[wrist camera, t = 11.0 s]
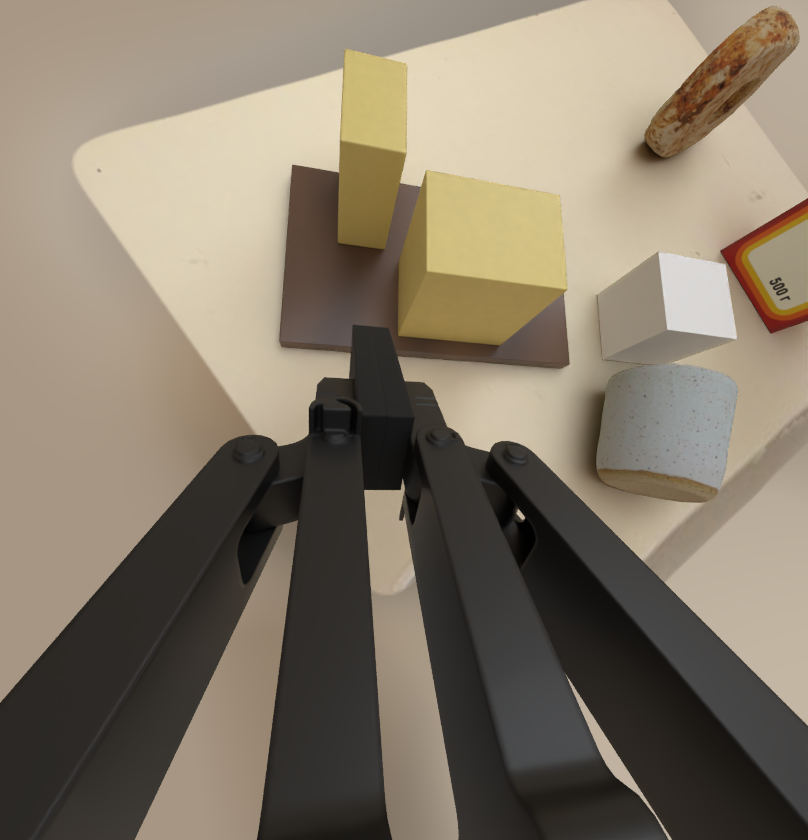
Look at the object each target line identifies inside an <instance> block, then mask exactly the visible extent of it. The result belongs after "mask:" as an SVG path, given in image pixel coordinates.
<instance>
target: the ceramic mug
mask: <svg viewBox="0 0 808 840" xmlns="http://www.w3.org/2000/svg"><path fill="white" fill-rule="evenodd" d="M737 394H738V388H737V385H736V383H735V381H734V380H733V379H731V378H730V377H728V376H726V375H724V374H722V373H719V372H717V371H713V370H710V369H706V368H701V367H696V366H690V365H681V364H666V365H660V364H657V365H647V366H641V367H635V368H631V369H627V370H623V371H621V372H619V373H617V374H615V375H613V376H612V377H611V378H610V379H609V380H608V383H607V386H606V394H605V402H604V407H603V414H602V421H601V430H600V437H599V442H598V447H597V456H596V468H597V474H598V476H599V477H600V479H601V480H602V481H603V482H604V483H606V484H607V485H610V486H612V487H615V488H618V489H621V490H624V491H628V492H632V493H636V494H640V495H645V496H649V497H654V498H660V499H666V500H672V501H679V502H695V503H702V502H706V501H709V500H711V499H713V498H714V497H715V496H716V495H717V493H718V491H719V489H720V486H721V484H722V481H723V478H724V474H725V470H726V463H727V455H728V447H729V440H730V434H731V429H732V423H733V418H734V412H735V406H736V400H737Z"/></svg>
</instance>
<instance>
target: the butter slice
mask: <svg viewBox="0 0 808 840" xmlns="http://www.w3.org/2000/svg"><path fill="white" fill-rule="evenodd" d="M406 150H407V64H406V63H402V62H397V61H393V60H389V59H385V58H381V57H377V56H373V55H369V54H365V53H360V52H357V51H353V50H349V49H345V51H344V69H343V89H342V109H341V129H340V161H339V205H338V243H341V244H349V245H356V246H363V247H370V248H377V249H385V247H386V242H387V238H388V233H389V229H390V224H391V220H392V215H393V211H394V206H395V202H396V198H397V193H398V189H399V184H400V180H401V175H402V171H403V166H404V162H405V157H406Z"/></svg>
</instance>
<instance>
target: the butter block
mask: <svg viewBox="0 0 808 840" xmlns="http://www.w3.org/2000/svg"><path fill="white" fill-rule="evenodd" d="M567 289H568V288H567V276H566V264H565V252H564V240H563V228H562V216H561V204H560V195H556V194H551V193H545V192H540V191H535V190H529V189H524V188H519V187H513V186H508V185H503V184H498V183H492V182H487V181H482V180H476V179H471V178H466V177H461V176H455V175H450V174H445V173H439V172H434V171H429V170H426V173H425V176H424V179H423V183H422V186H421V189H420V193H419V196H418V199H417V203H416V206H415V209H414V213H413V216H412V219H411V223H410V226H409V229H408V233H407V236H406V239H405V243H404V246H403V249H402V253H401V256H400V259H399V283H398V336H404V337H415V338H426V339H437V340H447V341H458V342H469V343H480V344H491V345H501V344H502V343H504V342H505V341H506V340H507V339H508V338H510V337H511V336H512V335H513V334H515V333H516V332H517V331H518V330H519V329H521V328H522V327H523V326H524V325H525V324H527V323H528V322H529V321H530V320H532V319H533V318H534V317H535V316H536V315H538V314H539V313H540V312H541V311H542V310H544V309H545V308H546V307H547V306H548V305H550V304H551V303H552V302H553V301H555V300H556V299H557V298H558V297H559V296H561V295H562V294H563V293H564V292H565V291H567Z"/></svg>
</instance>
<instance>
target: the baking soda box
mask: <svg viewBox="0 0 808 840" xmlns="http://www.w3.org/2000/svg"><path fill="white" fill-rule="evenodd" d="M721 253H722V254H723V256H724V258H725V259H726V261H727V262H728V264H729V266H730V267H731V269H732V271H733V272H734V274H735V276H736V277H737V279H738V280H739V282H740V284H741V285H742V287H743V289H744V290H745V292H746V293H747V295H748V297H749V298H750V300H751V302H752V303H753V305H754V306H755V308H756V310H757V311H758V313H759V315H760V316H761V318H762V319H763V321H764V323H765V324H766V326H767V328H768V329H769V331H770V333H774V332H776V331H779V330H782V329H785V328H788V327H791V326H794V325H797V324H800V323H803V322H806V321H808V199H806V200H804V201H803V202H801V203H799V204H798V205H796V206H794V207H793V208H791V209H789V210H788V211H786V212H784V213H783V214H781V215H779V216H778V217H776V218H774V219H773V220H771V221H769V222H768V223H766V224H764V225H763V226H761V227H759V228H758V229H756V230H754V231H753V232H751V233H749V234H748V235H746V236H744V237H743V238H741V239H739V240H738V241H736V242H734V243H733V244H731V245H729V246H728V247H726V248H724V249H723V250H721Z"/></svg>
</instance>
